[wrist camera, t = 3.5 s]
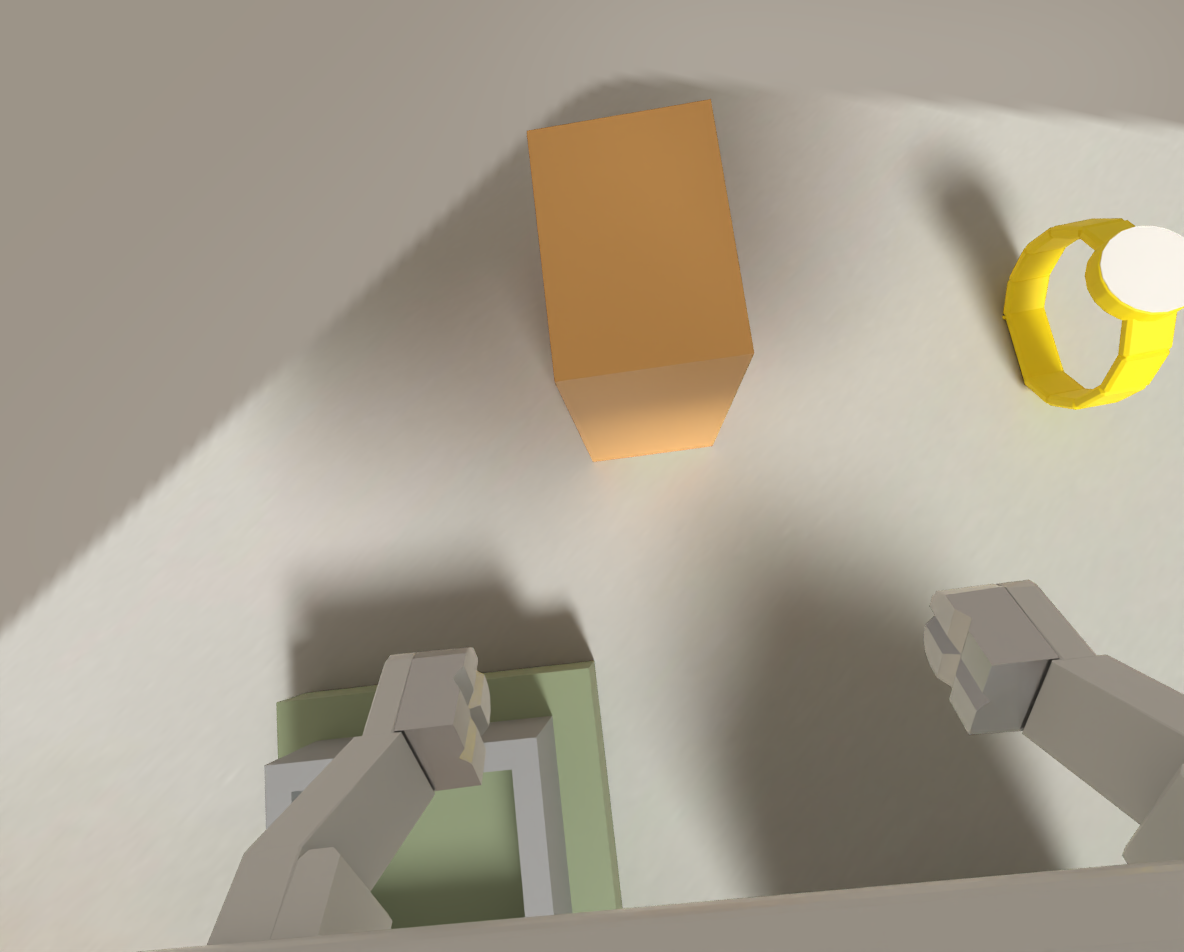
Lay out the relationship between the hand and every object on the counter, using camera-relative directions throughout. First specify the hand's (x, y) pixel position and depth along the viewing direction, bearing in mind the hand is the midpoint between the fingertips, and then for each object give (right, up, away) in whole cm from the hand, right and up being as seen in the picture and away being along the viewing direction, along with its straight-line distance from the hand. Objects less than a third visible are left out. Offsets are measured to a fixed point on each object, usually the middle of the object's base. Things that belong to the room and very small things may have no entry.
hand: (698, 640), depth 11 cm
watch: (+15, +8, +13) cm, 21 cm away
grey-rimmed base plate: (-7, -10, +11) cm, 16 cm away
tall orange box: (0, +6, +13) cm, 15 cm away
